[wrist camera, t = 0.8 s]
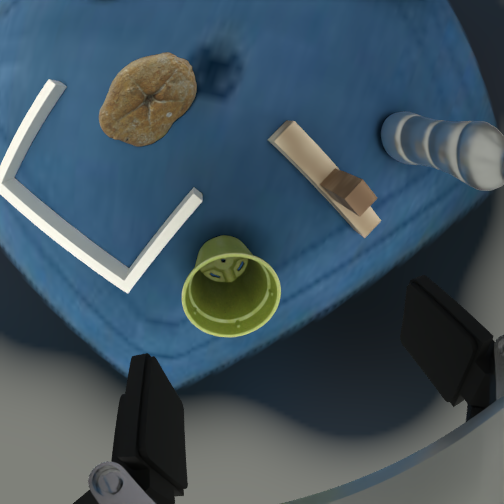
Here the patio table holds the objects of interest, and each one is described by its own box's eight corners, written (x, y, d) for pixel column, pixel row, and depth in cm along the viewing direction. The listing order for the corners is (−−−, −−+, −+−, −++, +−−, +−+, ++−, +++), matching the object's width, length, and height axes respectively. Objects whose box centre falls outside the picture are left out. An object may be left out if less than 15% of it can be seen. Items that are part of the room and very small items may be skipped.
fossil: (85, 136, 22) (146, 38, 18) (78, 114, 24) (133, 27, 20) (158, 155, 30) (217, 79, 25) (145, 134, 31) (198, 64, 27)
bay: (60, 81, 23) (48, 79, 21) (202, 193, 32) (202, 200, 29) (4, 180, 26) (-9, 186, 23) (131, 280, 35) (127, 293, 32)
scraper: (285, 120, 30) (316, 121, 22) (369, 213, 37) (409, 239, 29) (266, 139, 31) (291, 146, 23) (353, 229, 37) (391, 259, 29)
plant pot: (276, 237, 36) (298, 272, 28) (243, 301, 39) (255, 346, 31) (201, 208, 33) (203, 238, 25) (173, 279, 36) (169, 323, 28)
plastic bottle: (385, 100, 31) (523, 112, 13) (421, 128, 33) (548, 159, 15) (366, 144, 33) (501, 185, 15) (403, 169, 35) (527, 222, 17)
